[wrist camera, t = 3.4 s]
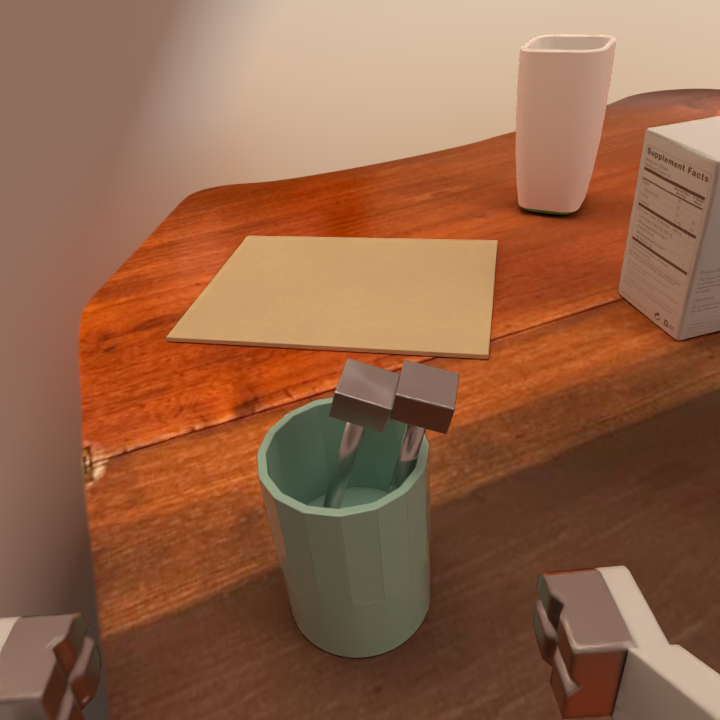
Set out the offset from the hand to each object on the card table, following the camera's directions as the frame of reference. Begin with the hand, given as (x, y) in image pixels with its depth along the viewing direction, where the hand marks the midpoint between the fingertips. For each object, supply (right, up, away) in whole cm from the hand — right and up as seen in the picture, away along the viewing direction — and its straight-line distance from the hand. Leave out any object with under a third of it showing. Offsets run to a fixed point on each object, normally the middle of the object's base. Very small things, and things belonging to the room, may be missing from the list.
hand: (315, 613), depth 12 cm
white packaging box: (+25, +8, +36) cm, 44 cm away
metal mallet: (+2, -3, +16) cm, 16 cm away
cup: (+20, +20, +52) cm, 59 cm away
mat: (0, +11, +42) cm, 43 cm away
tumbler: (+1, -6, +18) cm, 19 cm away
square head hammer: (-1, -3, +16) cm, 16 cm away
